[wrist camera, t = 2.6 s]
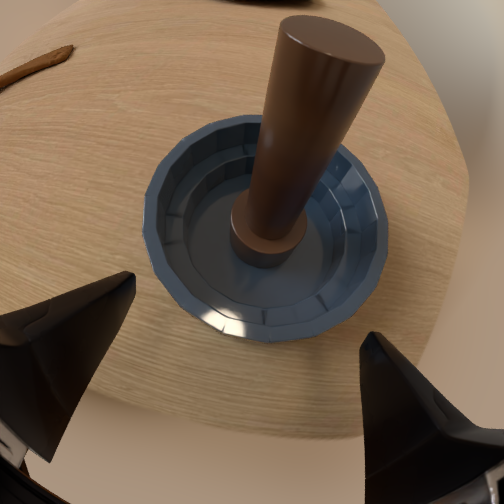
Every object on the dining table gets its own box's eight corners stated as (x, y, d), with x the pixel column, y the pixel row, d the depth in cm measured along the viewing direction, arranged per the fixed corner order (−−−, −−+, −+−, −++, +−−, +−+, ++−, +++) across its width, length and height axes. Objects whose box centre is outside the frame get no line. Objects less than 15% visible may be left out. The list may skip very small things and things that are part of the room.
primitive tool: (74, 45, 26) (69, 30, 23) (67, 60, 25) (61, 43, 22) (-8, 91, 23) (-15, 79, 20) (-18, 109, 22) (-26, 97, 18)
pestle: (299, 265, 18) (441, 104, 4) (232, 270, 17) (258, 68, 4) (289, 205, 19) (372, 23, 6) (227, 208, 18) (240, 0, 5)
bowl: (367, 325, 17) (409, 317, 13) (166, 348, 16) (143, 351, 11) (330, 160, 22) (352, 121, 17) (165, 164, 20) (153, 120, 15)
